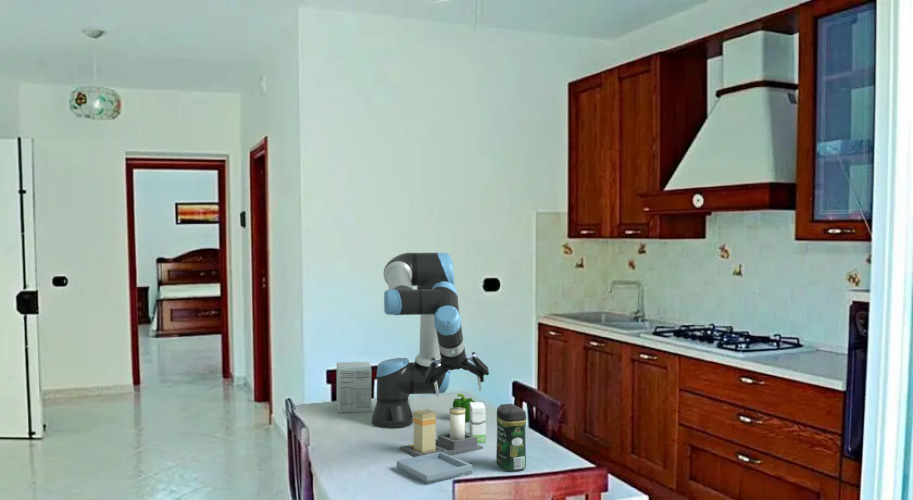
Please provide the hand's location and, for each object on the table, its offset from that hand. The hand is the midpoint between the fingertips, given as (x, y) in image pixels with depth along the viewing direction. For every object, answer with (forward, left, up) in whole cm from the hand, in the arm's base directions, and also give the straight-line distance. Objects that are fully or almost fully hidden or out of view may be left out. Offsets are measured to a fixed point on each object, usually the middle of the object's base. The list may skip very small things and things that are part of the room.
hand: (458, 390), depth 228 cm
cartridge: (-6, +4, -20) cm, 21 cm away
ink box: (-8, +14, -20) cm, 26 cm away
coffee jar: (+21, +4, -20) cm, 29 cm away
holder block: (-6, -2, -20) cm, 21 cm away
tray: (+11, -17, -20) cm, 28 cm away
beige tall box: (-6, -9, -20) cm, 23 cm away
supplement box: (-70, 0, -20) cm, 73 cm away
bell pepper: (-30, +25, -20) cm, 44 cm away
